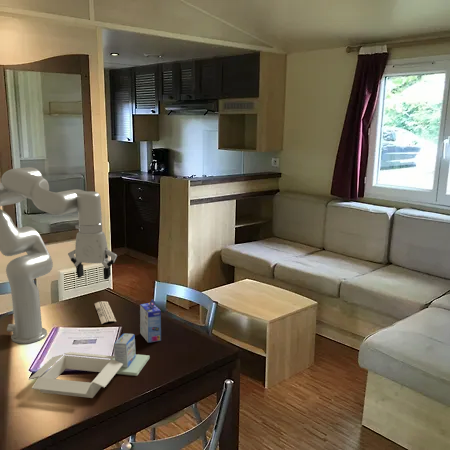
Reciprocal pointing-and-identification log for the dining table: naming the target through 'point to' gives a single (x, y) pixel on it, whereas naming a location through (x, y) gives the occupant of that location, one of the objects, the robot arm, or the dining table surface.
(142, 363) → the plate
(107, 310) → the newspaper
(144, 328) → the ink cartridge box
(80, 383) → the carton
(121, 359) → the medicine box
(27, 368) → the dining table surface
